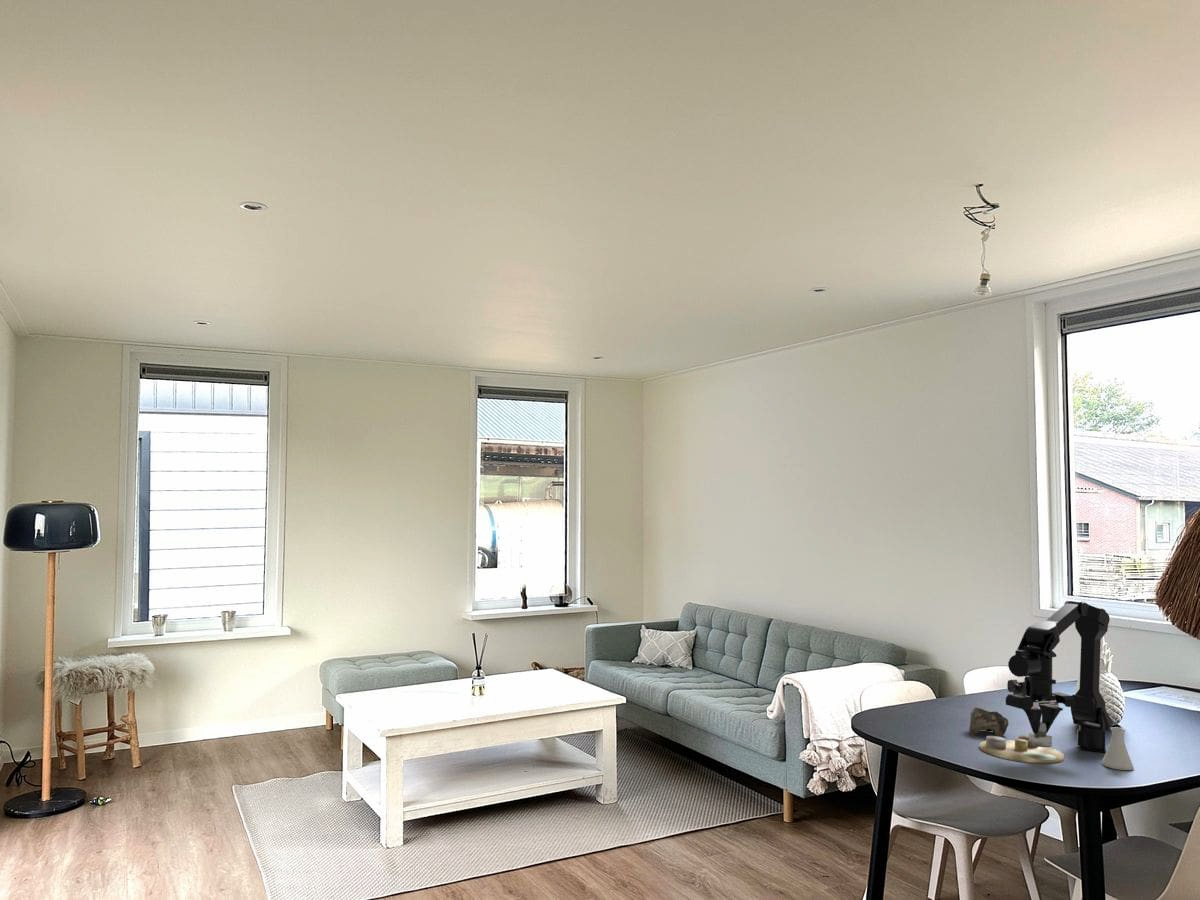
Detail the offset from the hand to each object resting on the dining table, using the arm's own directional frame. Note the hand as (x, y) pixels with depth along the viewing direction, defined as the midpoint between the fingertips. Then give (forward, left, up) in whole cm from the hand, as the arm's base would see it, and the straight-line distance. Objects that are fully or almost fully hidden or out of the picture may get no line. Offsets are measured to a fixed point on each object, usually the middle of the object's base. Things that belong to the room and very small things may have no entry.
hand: (1040, 733), depth 242 cm
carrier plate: (+5, -4, -7) cm, 9 cm away
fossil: (+14, -23, -7) cm, 27 cm away
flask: (-18, -3, -7) cm, 20 cm away
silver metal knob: (0, 0, -3) cm, 3 cm away
